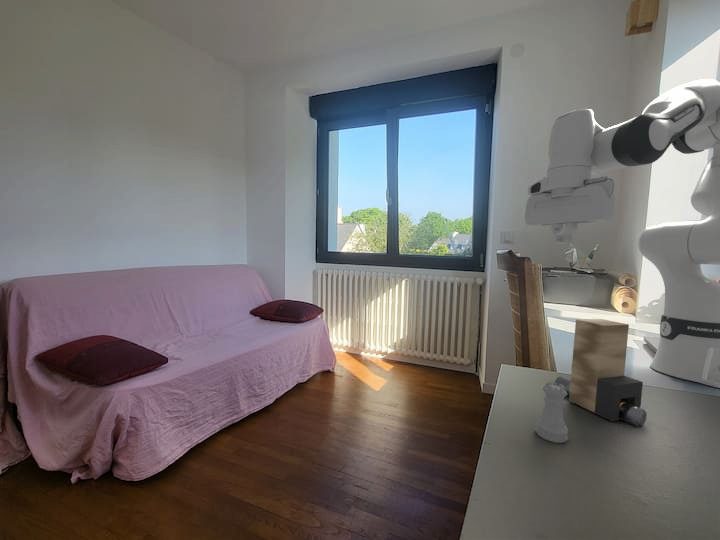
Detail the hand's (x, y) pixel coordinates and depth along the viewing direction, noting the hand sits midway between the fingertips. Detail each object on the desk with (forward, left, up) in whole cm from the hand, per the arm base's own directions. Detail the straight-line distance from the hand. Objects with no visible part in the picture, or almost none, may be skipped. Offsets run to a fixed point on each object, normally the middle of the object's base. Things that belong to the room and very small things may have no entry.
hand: (562, 243), depth 78 cm
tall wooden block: (-1, +17, -31) cm, 35 cm away
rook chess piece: (+11, +31, -31) cm, 45 cm away
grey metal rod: (-1, +17, -31) cm, 35 cm away
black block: (-3, +20, -31) cm, 37 cm away
